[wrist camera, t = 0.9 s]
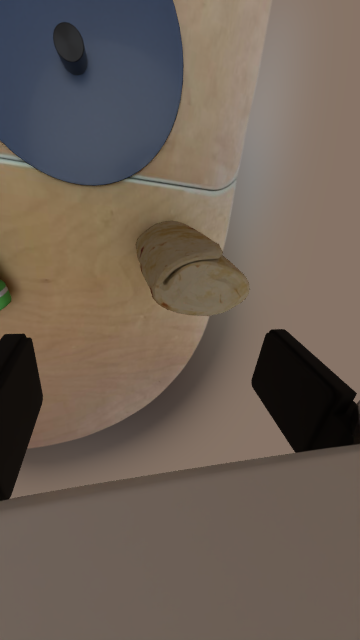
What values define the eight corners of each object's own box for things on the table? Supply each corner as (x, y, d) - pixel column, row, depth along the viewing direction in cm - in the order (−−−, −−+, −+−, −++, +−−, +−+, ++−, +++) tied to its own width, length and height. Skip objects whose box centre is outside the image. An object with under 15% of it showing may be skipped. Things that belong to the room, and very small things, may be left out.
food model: (134, 263, 38) (148, 330, 21) (133, 215, 35) (150, 249, 18) (195, 264, 40) (253, 325, 23) (200, 219, 37) (271, 253, 20)
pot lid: (88, -206, 20) (81, -303, 16) (214, 117, 32) (228, 108, 28) (-125, -16, 22) (-178, -59, 18) (68, 221, 34) (61, 227, 30)
